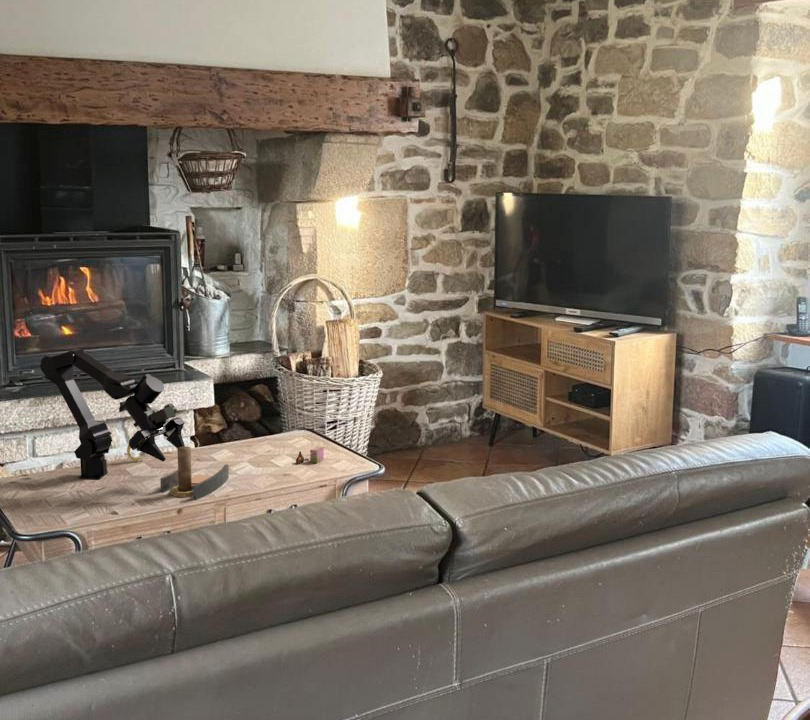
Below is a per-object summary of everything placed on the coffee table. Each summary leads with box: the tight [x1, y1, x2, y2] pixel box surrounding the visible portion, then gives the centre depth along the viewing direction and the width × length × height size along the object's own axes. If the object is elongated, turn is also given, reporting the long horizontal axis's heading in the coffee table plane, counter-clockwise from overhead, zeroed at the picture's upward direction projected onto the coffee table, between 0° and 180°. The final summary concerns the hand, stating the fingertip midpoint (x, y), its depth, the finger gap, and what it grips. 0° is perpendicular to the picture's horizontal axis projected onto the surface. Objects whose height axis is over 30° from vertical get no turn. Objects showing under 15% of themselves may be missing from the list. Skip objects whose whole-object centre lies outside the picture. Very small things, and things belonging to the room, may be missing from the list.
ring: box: [126, 443, 149, 463], centre depth 302 cm, size 7×3×8 cm, turn 118°
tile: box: [191, 474, 213, 485], centre depth 285 cm, size 8×8×1 cm
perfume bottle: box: [295, 446, 325, 465], centre depth 303 cm, size 12×12×4 cm
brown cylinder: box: [170, 446, 194, 498], centre depth 273 cm, size 7×7×13 cm
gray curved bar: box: [159, 464, 230, 501], centre depth 278 cm, size 16×21×4 cm
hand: (174, 456), depth 273 cm, fingers open, 9 cm apart
